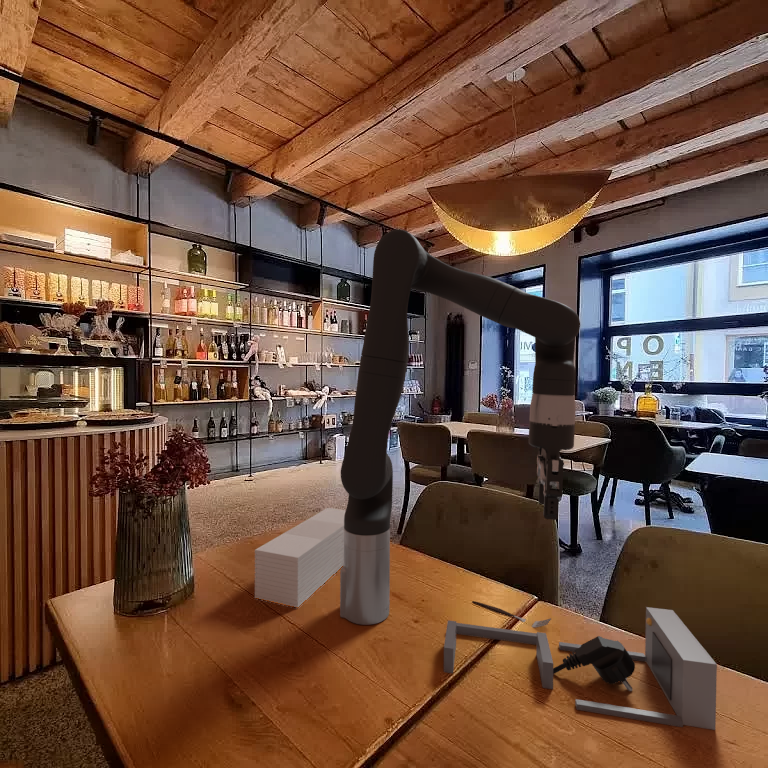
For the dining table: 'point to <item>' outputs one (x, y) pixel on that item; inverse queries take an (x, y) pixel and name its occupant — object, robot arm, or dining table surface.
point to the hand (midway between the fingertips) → (547, 511)
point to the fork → (536, 623)
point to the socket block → (670, 674)
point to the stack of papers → (300, 559)
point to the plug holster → (501, 634)
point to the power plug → (602, 660)
